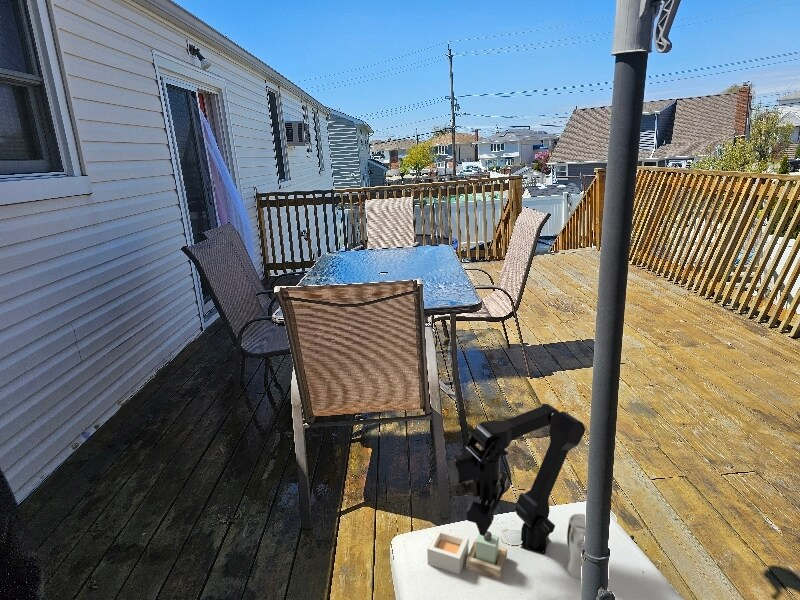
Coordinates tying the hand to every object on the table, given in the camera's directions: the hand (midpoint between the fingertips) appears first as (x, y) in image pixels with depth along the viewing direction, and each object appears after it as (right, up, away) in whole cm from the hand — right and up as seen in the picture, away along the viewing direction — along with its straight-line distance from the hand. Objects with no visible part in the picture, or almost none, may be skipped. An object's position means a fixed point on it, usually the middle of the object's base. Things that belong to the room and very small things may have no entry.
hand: (487, 523), depth 131 cm
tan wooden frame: (+1, -12, +4) cm, 13 cm away
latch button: (-10, -10, +5) cm, 15 cm away
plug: (+1, -12, +4) cm, 13 cm away
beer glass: (+24, -13, +1) cm, 27 cm away
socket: (-10, -12, +6) cm, 16 cm away
